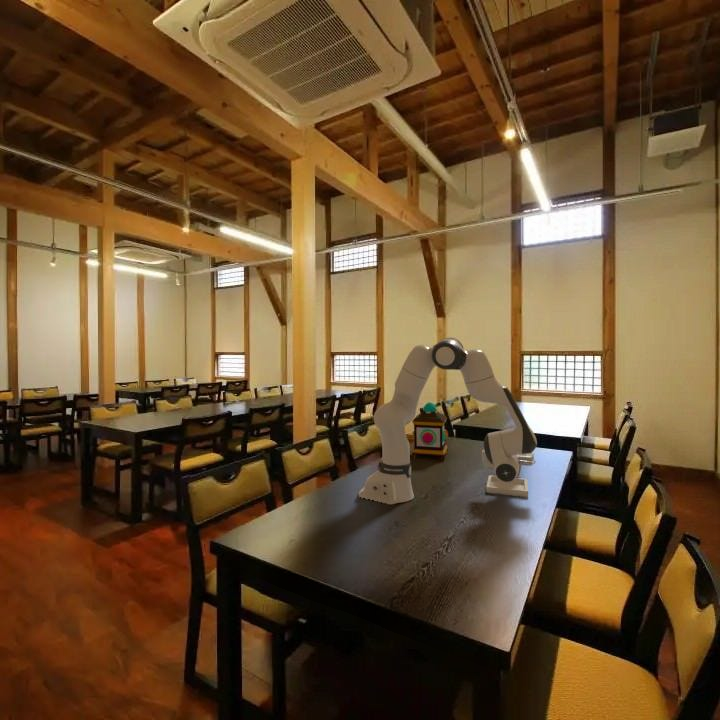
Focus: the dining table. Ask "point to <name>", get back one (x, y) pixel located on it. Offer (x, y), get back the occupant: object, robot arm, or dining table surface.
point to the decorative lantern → (430, 432)
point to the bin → (507, 486)
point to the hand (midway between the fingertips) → (507, 452)
